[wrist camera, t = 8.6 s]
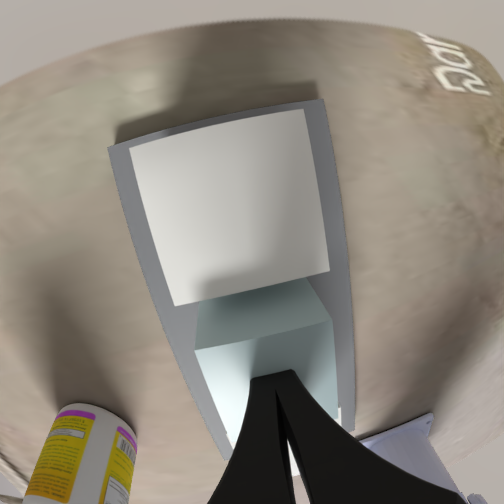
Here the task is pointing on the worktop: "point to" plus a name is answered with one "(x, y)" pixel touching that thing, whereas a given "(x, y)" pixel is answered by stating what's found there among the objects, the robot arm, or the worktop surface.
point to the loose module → (265, 345)
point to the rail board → (319, 282)
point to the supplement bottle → (84, 459)
